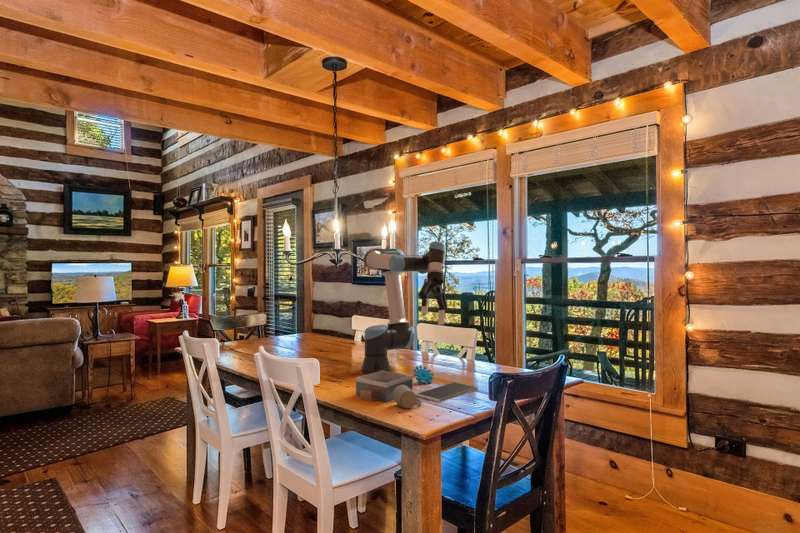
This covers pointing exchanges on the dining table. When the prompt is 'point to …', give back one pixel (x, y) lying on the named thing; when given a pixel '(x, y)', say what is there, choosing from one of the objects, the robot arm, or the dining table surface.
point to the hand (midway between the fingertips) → (432, 319)
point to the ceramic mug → (405, 397)
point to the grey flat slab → (446, 392)
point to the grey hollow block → (380, 385)
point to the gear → (423, 374)
